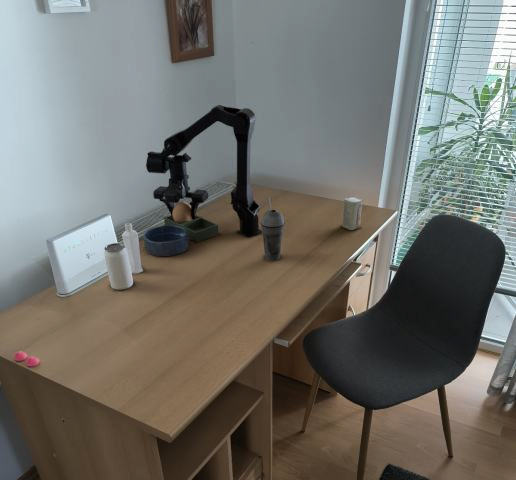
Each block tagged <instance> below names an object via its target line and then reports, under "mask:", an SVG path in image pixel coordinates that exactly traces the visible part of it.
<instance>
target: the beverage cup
mask: <svg viewBox="0 0 516 480" xmlns="http://www.w3.org/2000/svg"><path fill="white" fill-rule="evenodd" d="M267 202H268V210H266V212H264V213H263V215H262V217H261V221H260V226H261V231H262V238H263V239H262V240H263V247H264V256H265V259H266V260H267V261H269V262H276V261H278V260H280V258H281V257H280V256H281V251H282V241H283V231H284V227H285V226H284V225H285V219H284V216H283V214H282V213H281V212H280V211H278V209H277V210H276V209H272V207H271V198H270V195H267Z"/></svg>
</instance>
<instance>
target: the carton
mask: <svg viewBox="0 0 516 480" xmlns="http://www.w3.org/2000/svg"><path fill="white" fill-rule="evenodd" d="M163 222H164V226H165V225H173V226H179V227H182V228H184V229H186V231H187V235H188V240H191V241H193V242H195V243H200V242H202V241H204V240H208V239H210V238H212V237H215V236H218V235H220V230H219V224H217V223H215V222H213V221H211V220H208V219H206V218H204V217H202V216H200V215H198V214H196V215H195V218H194V219H193V220H191V221H188V222H186V223H183V224H178V223H176V222H175V221H174V219H173V217H172V215H171V214H170V215H168V216H165V217H163Z"/></svg>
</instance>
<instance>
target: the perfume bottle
mask: <svg viewBox="0 0 516 480" xmlns="http://www.w3.org/2000/svg"><path fill="white" fill-rule="evenodd" d="M124 228H125V230H124V232H123V233H122V234H121V238H122V241H123V244H124V245H125V248H126V249H127V252H128V257H129V262H130V267H131V272H132V274H140V273H142V272H144V269H143V267H142V263H141V253H140V242H139V241H140V240H139V233H138V232H137V231H136V229H135V230H134V229H133V224H132V223H131V222H128V223H127V222H126V223H125V224H124Z"/></svg>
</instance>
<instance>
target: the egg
mask: <svg viewBox="0 0 516 480" xmlns="http://www.w3.org/2000/svg"><path fill="white" fill-rule="evenodd" d="M173 219H174V221H175V222H176V223H178V224H183V223H186V222H188V221H191V220H193V219H192V216H191V205H190V204H189V203H187V202H185V201H179V202H178V203H175V204H174V209H173Z"/></svg>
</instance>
